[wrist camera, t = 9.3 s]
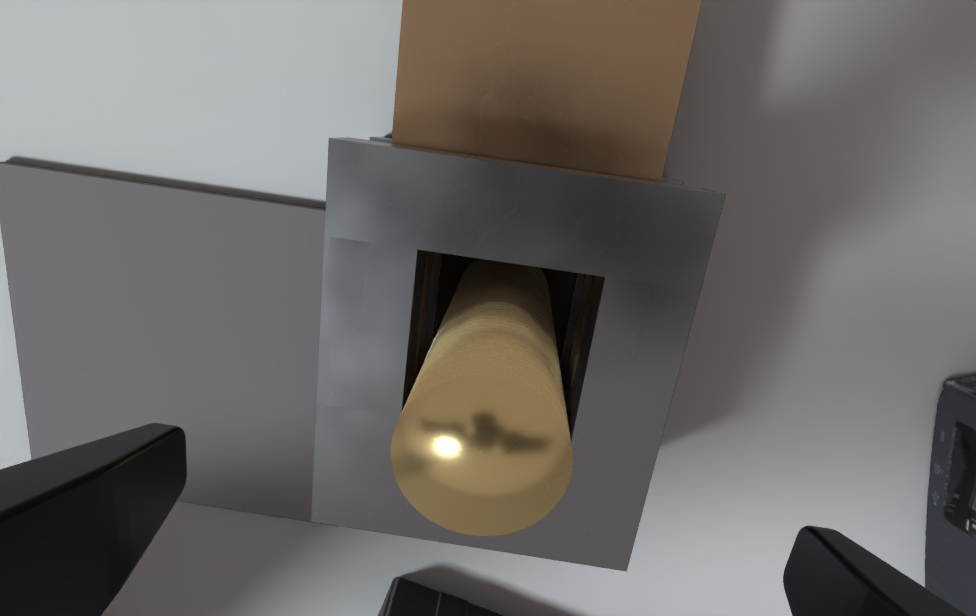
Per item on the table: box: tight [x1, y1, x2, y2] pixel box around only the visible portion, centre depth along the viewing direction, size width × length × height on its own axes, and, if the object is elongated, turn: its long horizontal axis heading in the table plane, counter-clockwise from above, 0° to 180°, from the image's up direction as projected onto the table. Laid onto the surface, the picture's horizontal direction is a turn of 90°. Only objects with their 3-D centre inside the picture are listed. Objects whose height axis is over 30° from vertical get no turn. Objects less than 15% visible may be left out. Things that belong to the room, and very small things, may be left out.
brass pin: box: [390, 258, 573, 536], centre depth 14 cm, size 3×3×10 cm
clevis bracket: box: [311, 0, 725, 571], centre depth 16 cm, size 16×9×5 cm, turn 172°
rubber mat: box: [0, 162, 336, 526], centre depth 20 cm, size 12×12×1 cm
